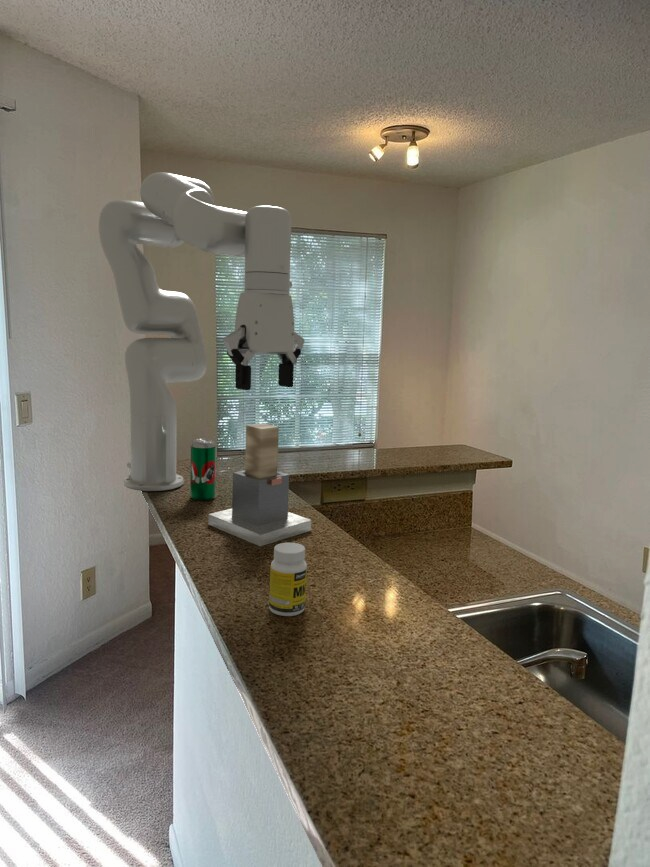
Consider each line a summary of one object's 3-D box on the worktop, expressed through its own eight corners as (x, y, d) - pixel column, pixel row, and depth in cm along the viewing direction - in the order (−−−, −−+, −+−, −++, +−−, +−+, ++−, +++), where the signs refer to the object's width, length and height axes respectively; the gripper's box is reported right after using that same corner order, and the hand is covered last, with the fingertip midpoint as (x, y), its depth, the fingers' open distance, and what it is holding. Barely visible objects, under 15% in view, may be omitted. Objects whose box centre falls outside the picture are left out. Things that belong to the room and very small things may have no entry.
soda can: (218, 495, 130) (219, 439, 128) (211, 502, 125) (212, 444, 123) (194, 493, 130) (195, 437, 128) (186, 500, 125) (187, 442, 123)
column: (243, 513, 111) (245, 425, 108) (261, 509, 114) (263, 423, 111) (258, 519, 108) (261, 429, 105) (276, 514, 111) (279, 426, 108)
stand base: (208, 524, 112) (209, 470, 110) (259, 511, 121) (260, 461, 119) (260, 546, 103) (261, 487, 101) (310, 530, 111) (313, 476, 109)
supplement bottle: (296, 620, 78) (299, 557, 77) (262, 612, 80) (264, 550, 78) (310, 604, 83) (313, 544, 81) (278, 597, 84) (280, 538, 83)
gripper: (288, 289, 113) (286, 383, 116) (211, 282, 100) (210, 388, 103) (319, 288, 108) (315, 387, 111) (241, 281, 95) (239, 392, 98)
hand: (265, 387), depth 107 cm, fingers open, 9 cm apart
